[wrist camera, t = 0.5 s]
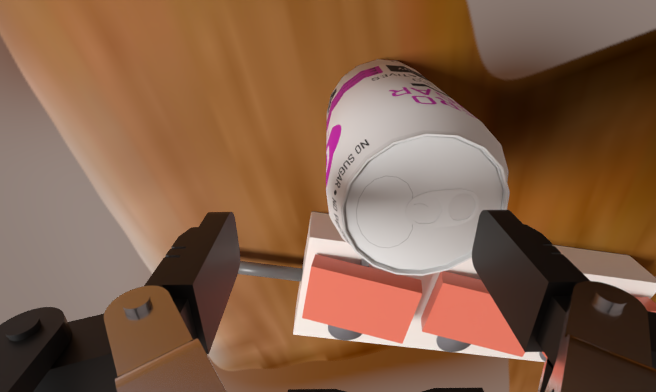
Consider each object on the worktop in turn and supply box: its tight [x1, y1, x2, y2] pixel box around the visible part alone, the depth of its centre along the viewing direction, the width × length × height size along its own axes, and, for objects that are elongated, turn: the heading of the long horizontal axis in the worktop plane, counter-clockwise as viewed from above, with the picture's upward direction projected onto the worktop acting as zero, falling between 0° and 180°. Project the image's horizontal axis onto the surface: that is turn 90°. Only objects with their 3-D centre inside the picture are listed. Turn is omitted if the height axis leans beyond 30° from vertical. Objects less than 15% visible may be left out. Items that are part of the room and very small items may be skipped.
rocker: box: [302, 254, 423, 344], centre depth 30 cm, size 6×9×2 cm, turn 81°
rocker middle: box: [421, 271, 525, 357], centre depth 31 cm, size 6×9×2 cm, turn 81°
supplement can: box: [326, 59, 510, 276], centre depth 21 cm, size 8×8×15 cm
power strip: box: [238, 212, 656, 362], centre depth 34 cm, size 12×40×5 cm, turn 81°
